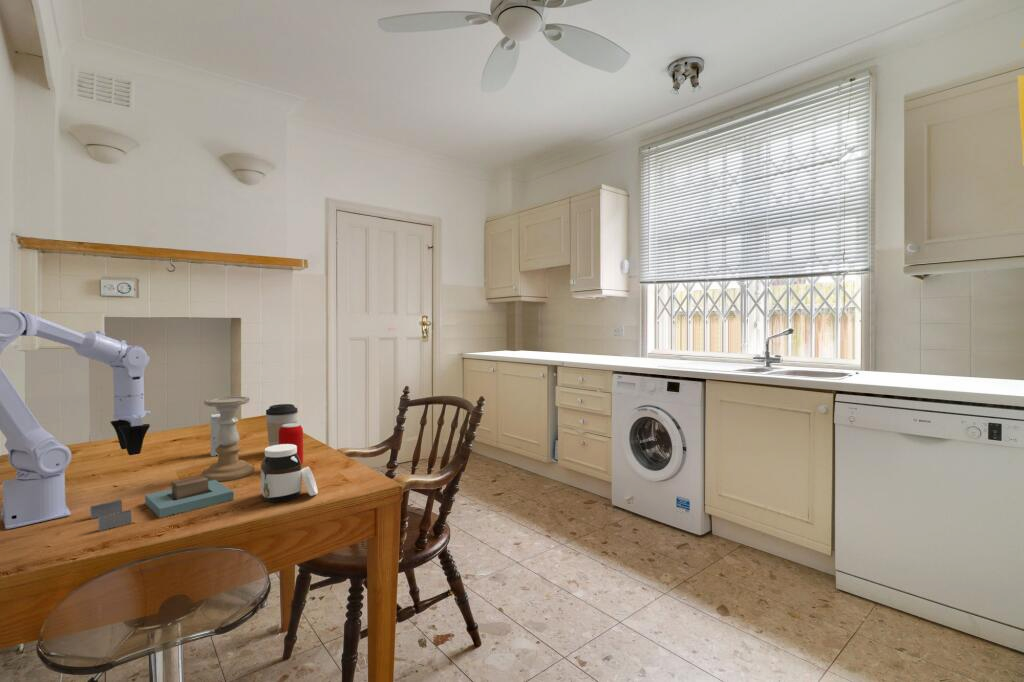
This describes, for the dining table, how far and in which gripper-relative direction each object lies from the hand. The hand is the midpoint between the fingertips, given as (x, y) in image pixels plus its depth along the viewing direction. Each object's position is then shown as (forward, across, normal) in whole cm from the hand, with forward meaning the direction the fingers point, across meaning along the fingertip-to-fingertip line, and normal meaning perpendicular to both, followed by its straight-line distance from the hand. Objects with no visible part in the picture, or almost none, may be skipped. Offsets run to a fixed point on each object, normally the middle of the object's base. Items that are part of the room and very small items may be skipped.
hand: (130, 451), depth 117 cm
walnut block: (+10, -19, -7) cm, 22 cm away
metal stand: (+9, -19, +7) cm, 22 cm away
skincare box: (+10, +19, -26) cm, 34 cm away
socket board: (+9, -19, -7) cm, 22 cm away
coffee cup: (+10, +7, -39) cm, 41 cm away
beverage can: (+10, -10, -34) cm, 37 cm away
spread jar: (+10, -32, -24) cm, 41 cm away
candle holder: (+10, -4, -20) cm, 23 cm away
